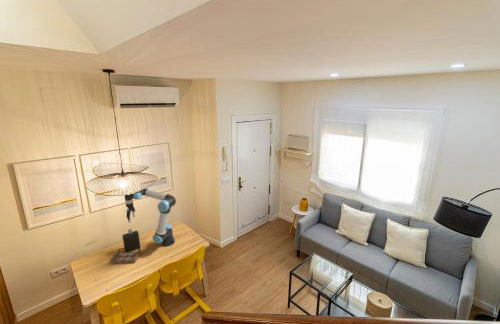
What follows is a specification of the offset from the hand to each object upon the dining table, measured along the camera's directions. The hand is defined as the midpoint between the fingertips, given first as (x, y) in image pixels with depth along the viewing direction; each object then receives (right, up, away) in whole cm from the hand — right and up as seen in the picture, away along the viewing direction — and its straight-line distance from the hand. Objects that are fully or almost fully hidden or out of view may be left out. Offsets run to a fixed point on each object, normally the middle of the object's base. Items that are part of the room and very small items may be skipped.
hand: (131, 219), depth 280 cm
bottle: (+2, -34, -1) cm, 34 cm away
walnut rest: (+3, -38, -17) cm, 41 cm away
